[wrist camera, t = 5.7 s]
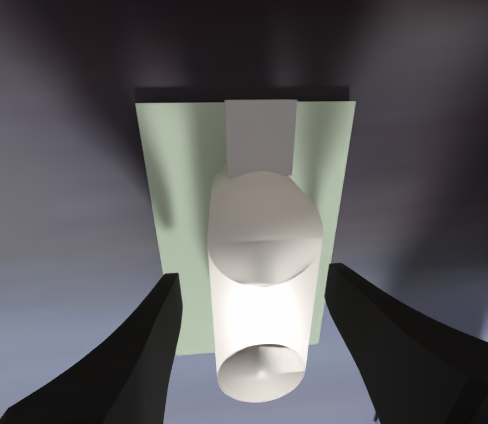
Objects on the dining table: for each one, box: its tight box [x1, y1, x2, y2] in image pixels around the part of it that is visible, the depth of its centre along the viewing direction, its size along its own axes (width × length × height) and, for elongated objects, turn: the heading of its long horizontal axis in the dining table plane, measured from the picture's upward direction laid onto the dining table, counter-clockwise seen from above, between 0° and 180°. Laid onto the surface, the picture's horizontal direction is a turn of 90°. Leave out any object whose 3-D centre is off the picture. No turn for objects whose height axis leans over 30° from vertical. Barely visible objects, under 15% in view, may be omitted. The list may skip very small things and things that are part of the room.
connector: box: [207, 99, 323, 402], centre depth 12 cm, size 13×4×5 cm, turn 0°
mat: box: [135, 101, 356, 356], centre depth 15 cm, size 16×10×1 cm, turn 0°
